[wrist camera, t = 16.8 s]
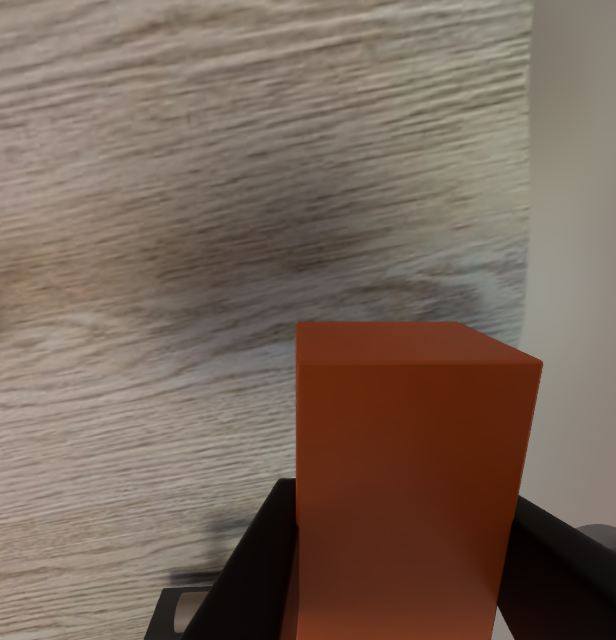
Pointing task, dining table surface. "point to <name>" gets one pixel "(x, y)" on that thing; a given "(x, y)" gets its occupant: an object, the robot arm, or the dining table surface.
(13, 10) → the dining table surface
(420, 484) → the orange rectangular block
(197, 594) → the drawer
